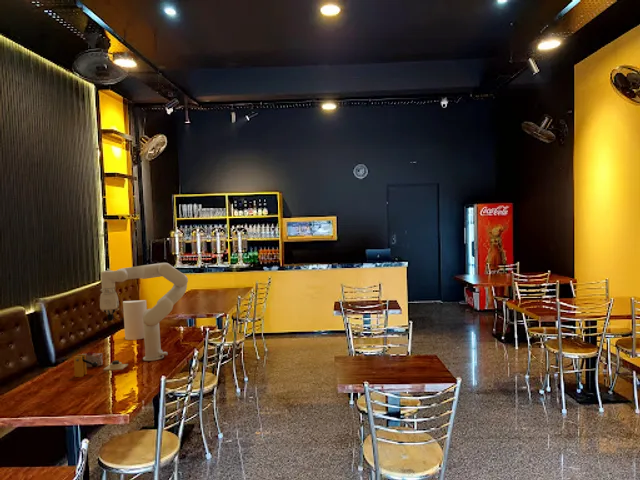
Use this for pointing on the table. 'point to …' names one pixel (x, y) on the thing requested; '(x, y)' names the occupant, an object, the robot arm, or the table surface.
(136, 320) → the cylinder
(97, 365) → the press lever
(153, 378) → the table surface
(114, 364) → the stop button
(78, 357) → the lever bracket
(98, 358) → the food item
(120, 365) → the control block
